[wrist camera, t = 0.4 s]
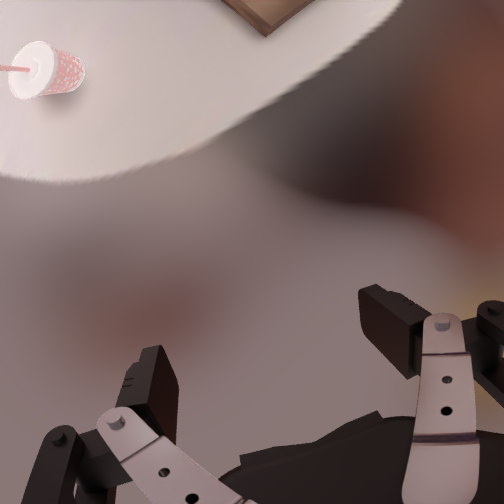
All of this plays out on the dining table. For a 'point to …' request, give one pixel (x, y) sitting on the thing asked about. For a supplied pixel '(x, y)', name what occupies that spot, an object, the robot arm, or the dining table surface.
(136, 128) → the dining table surface
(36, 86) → the beverage cup
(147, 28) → the dining table surface
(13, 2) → the dining table surface
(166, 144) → the dining table surface
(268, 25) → the walnut riser block
